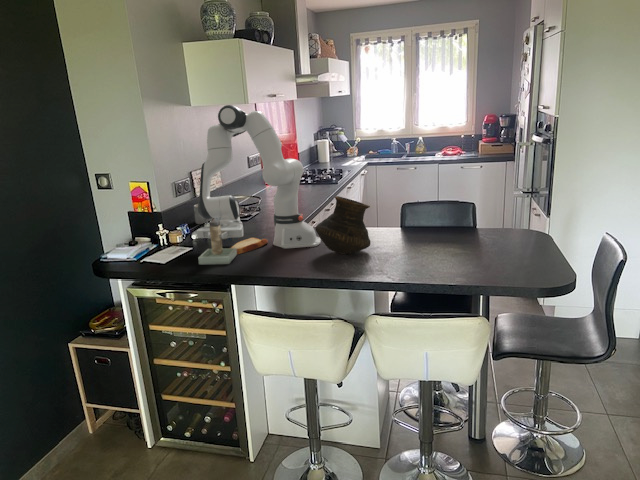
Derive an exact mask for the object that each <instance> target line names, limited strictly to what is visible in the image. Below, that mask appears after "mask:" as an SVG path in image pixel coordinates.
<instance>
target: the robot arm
mask: <svg viewBox="0 0 640 480" xmlns="http://www.w3.org/2000/svg"><path fill="white" fill-rule="evenodd" d="M217 118H218V119H217V120H218V122H219V123H218V124H214V125H212V126H210V127H208V129H207V135H206V144H207V145H206V146H207V148H206V149H207V157H206V158H205V159H206V160H205V162H203V163H202V165H201V168H200V178H199V179H200V180H199V181H200V182H199V197H198V203H197V204H198V213H199V215H200V216H202V217H203V218H204V219H212V218H218V217H221V219H220V220H219V221H220V229H221V234H220V235H219V237H220V239H222V240H227V239H229V238H231V239H232V238H242V237H244V224H243V222H242V221H241V218H240V216H241V207H240V206H241V205H240V202H239V201H238V199H237V198H236V197H235V196H234V195H222V196H221V195H220V196H212V197H211V181H212V178H213V177H214V176H215V175H216V174H218V173H219V172H221V171H223V170H225V169H226V168H228V167H229V165H231V163H232V161H233V147H232V145H233V144H232V138H234V137H237V136H239V135H241V134H244V133H245V132H246V133H248V135H249V137H250V139H251V141H252V142H253V144H254V146H255V148H256V149H257V153H259V156H260V159H261V163H262V167H263V170H262V179H263V181H264V183H265V184H267V185H268V186H270V187H276V191H275V193H274V196H273V209H274V214H273V225H274V238H273V243H272V244H273V246H276V247H279V248H282V249H295V248H298V249H299V248H306V247H307V248H309V247H310V248H311V247H317V246H319V245H320V244H322V243H321V242H322V240H321V238H320V237H319V236H317V234H316V233H317V232H316V229H315V228H314V227H313V226H311V225H310V224H309V223H307V222H306V221H304V215H303V213H300V212H299V203H298V202H299V200H298V198H299V197H298V196H299V188H300V184H301V183H300V182H301V179H302V177H303V175H304V172H305V171H304V169H305V168H304V166H303V163H302V162H301V161H300V160H299V159H295V158H291V157H290V158H286V159H285V158H284V155H283V151H282V146H283V143H282V140H280V137H279V135H278V134H277V133H276V130H275V129H274V127H273V125H272V123H271V122H270V120H269V119H268V117H266V116H265V114H264V113H263V112H262V111H260V110H255V111H254V110H253V111H251V112H249V113H246V111H244V110H242V109H241V108H239V107H238V106H236V105H232V104H227V105H224V106H223V107H221V108H220V109H219V111H218V113H217ZM195 234H196V238H198V239H208V240H209V239H210V240H211V235H210V226H201V227H200V228H198V229H197V230H196V233H195Z"/></svg>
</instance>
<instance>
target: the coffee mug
mask: <svg viewBox="0 0 640 480" xmlns="http://www.w3.org/2000/svg"><path fill="white" fill-rule="evenodd" d="M193 211H194V221H195V224H197V225H204V224H203V223H205V222H208V221H212V219H213V218H212V219H204V218H203V217H202V216H200V215H199V213H198V203H197V204H194V205H193Z"/></svg>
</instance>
